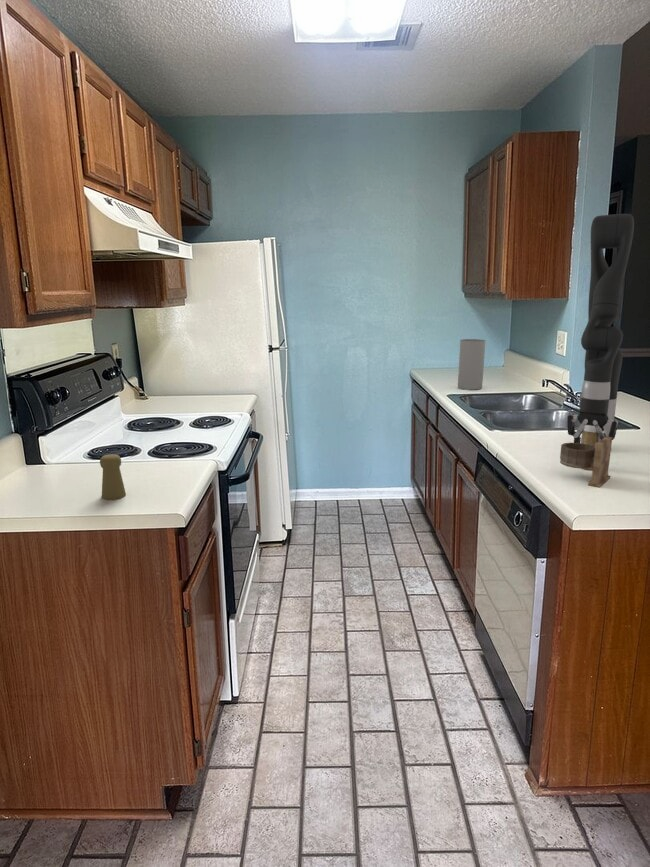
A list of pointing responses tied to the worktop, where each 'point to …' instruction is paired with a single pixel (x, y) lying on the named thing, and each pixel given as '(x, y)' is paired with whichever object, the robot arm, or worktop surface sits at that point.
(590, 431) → the sprinkles bottle
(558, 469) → the worktop surface
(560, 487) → the worktop surface
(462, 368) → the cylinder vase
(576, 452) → the bracket
